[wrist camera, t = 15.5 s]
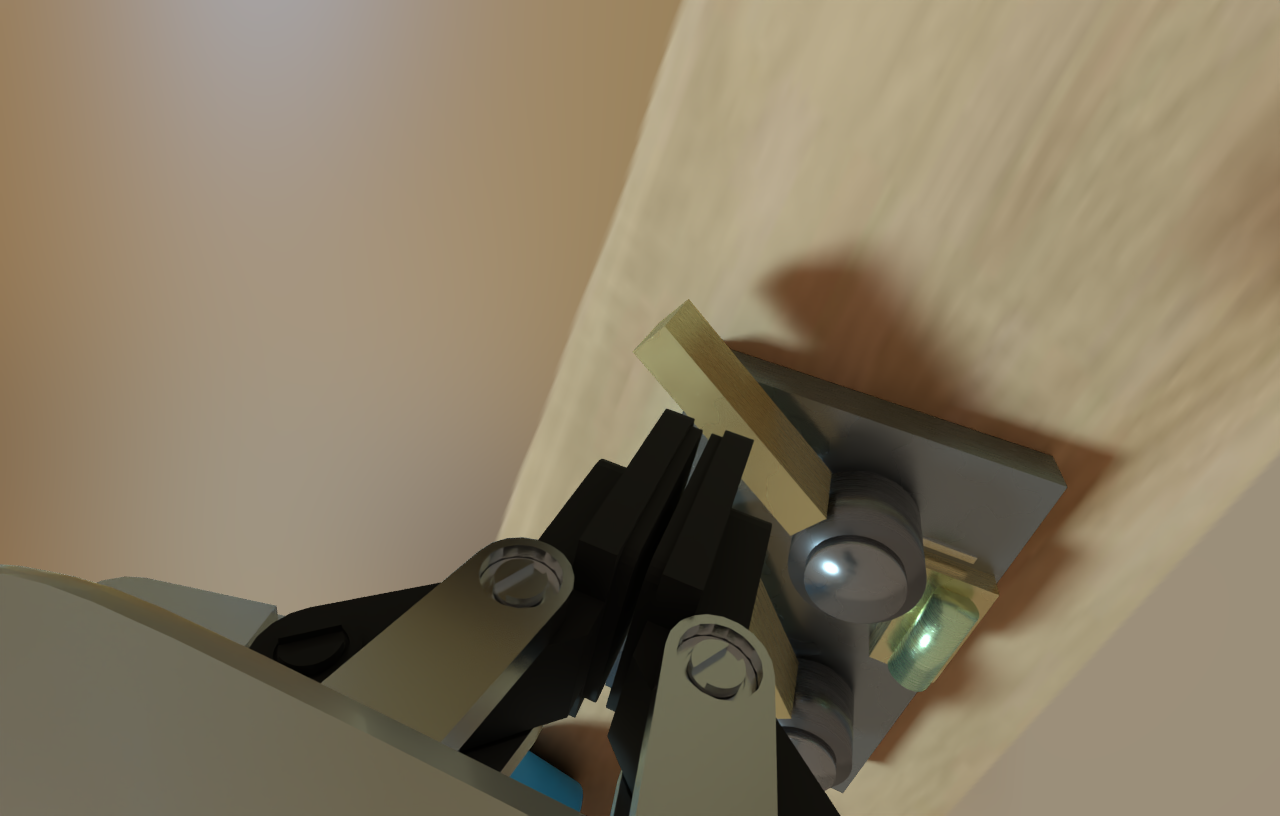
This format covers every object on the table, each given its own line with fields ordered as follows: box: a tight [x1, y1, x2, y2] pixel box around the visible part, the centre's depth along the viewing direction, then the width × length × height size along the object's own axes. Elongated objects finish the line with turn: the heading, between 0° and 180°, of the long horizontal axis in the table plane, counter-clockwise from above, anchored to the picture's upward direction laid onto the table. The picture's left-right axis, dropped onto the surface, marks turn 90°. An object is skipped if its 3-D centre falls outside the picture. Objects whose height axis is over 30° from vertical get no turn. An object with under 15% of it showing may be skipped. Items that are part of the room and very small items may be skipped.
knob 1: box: [633, 299, 927, 624], centre depth 21 cm, size 13×4×4 cm, turn 44°
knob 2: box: [749, 578, 854, 791], centre depth 25 cm, size 13×4×4 cm, turn 26°
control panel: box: [605, 349, 1067, 793], centre depth 26 cm, size 20×13×4 cm, turn 168°
